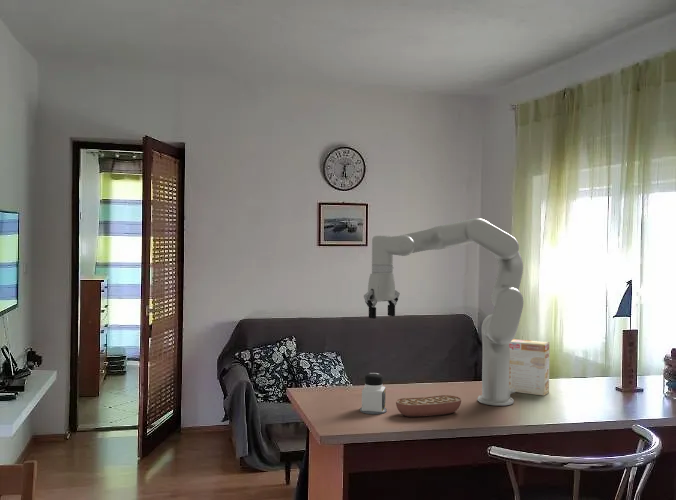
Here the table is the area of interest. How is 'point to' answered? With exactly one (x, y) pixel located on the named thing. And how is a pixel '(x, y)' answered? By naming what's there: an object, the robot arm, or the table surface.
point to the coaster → (373, 412)
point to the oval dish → (428, 405)
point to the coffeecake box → (529, 366)
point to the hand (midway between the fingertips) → (381, 317)
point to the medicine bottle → (373, 393)
